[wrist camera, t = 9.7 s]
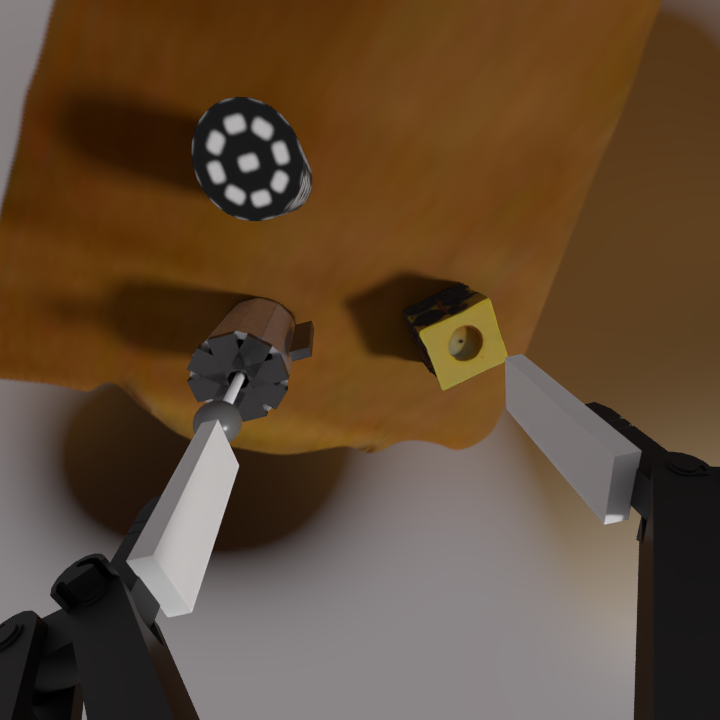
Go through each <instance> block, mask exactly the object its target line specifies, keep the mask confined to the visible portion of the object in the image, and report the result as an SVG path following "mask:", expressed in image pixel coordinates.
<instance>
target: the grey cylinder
mask: <svg viewBox="0 0 720 720" xmlns="http://www.w3.org/2000/svg"><path fill="white" fill-rule="evenodd" d="M313 335H314V327H313V323H312V321H309V322H305V323H301V324H297V325H296V323H295V320H294V318H293V316H292V315H291V313H290V312H289V311H288V310H287V309H286V308H285V307H284V306H283V305H281V304H280V303H278V302H276V301H274V300H271V299H268V298H262V297H256V298H250V299H246V300H244V301H242V302H239V303H238V304H237V305H236V306H235V307H234V308H233V309H232V310H231V311H230V312H229V314H228V315H227V316H226V317H225V318H224V319H223V320H222V321H221V323H220V324H219V325H218V326H217V327H216V328H215V330H214V331H213V332H212V333H211V334H210V335H209V337H208V338H207V339H206V340H205V341H204V342H203V344H202V345H199V346H198V347H197V349H196V351H195V353H194V354H193V357H192V359H191V361H190V363H189V366H188V368H187V370H189V371H191V375H190V376H191V377H190V378H189V379H188V380H187V382H188V384H189V386H190V388H191V390H192V392H193V394H194V396H195V398H196V400H197V402H202V401H206V402H207V403H208V402H211V401H215V400H222V401H223V399H224V397H225V395H226V393H227V391H228V389H229V387H230V385H231V383H232V381H233V379H234V377H235V375H236V374H237V372H238V371H241V372H243V373H245V374H246V376H245V378H244V380H243V383H242V385H241V387H240V389H239V391H238V394H237V396H236V398H235V400H234V402H233V405H234V406H235V407H236V408H237V409H238V411H239V413H240V415H241V418H242V420H243V422H245V421H249V420H253V419H257V418H261V417H265V416H267V413H268V411H269V410H270V409H271V408H274V409H277V407H278V405H279V404H280V402H281V400H282V399H283V397H284V395H285V394H286V392H287V390H288V386H287V382H288V379H289V374H290V369H291V364H292V361H295V360H299V359H303V358H307V357H311V356H312V347H313ZM239 339H242V340H244V342H243V344H242V346H241V344H240V341H239ZM268 353H270V354H272V355H273V356H271V357H267V355H268ZM266 357H267V358H266Z"/></svg>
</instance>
